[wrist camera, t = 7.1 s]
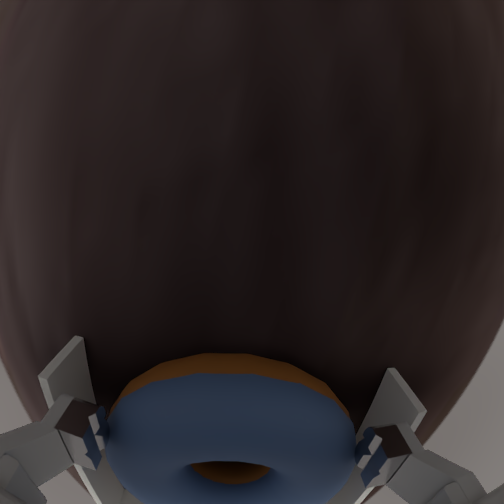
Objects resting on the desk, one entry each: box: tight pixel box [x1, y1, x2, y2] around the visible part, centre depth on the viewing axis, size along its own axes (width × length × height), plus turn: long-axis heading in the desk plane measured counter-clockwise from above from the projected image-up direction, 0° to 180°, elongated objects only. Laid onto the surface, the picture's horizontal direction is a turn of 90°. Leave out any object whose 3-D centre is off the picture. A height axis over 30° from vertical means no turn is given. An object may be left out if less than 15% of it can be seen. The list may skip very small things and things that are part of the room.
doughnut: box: [105, 353, 357, 504], centre depth 9 cm, size 10×10×5 cm
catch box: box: [38, 335, 427, 504], centre depth 10 cm, size 13×13×3 cm
